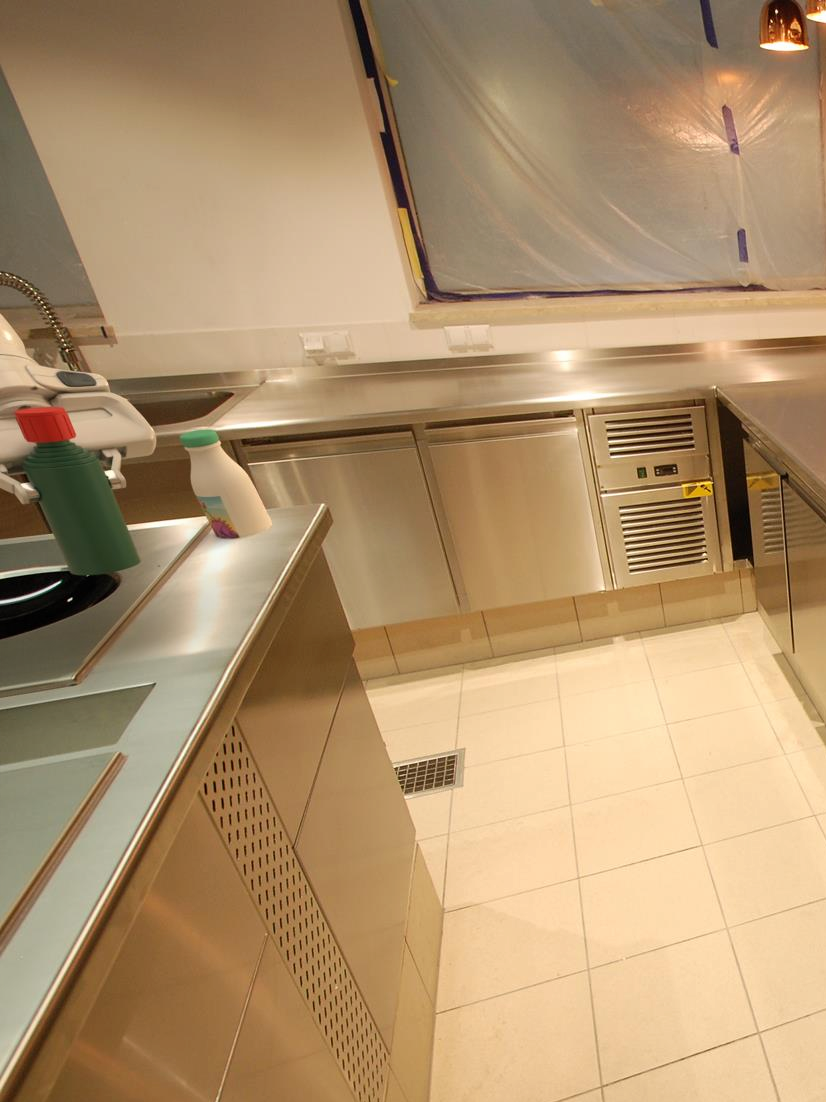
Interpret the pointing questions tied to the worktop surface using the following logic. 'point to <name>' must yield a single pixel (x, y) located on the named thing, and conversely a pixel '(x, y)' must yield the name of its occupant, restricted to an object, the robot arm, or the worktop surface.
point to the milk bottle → (223, 488)
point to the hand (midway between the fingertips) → (77, 492)
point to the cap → (45, 424)
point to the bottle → (80, 508)
